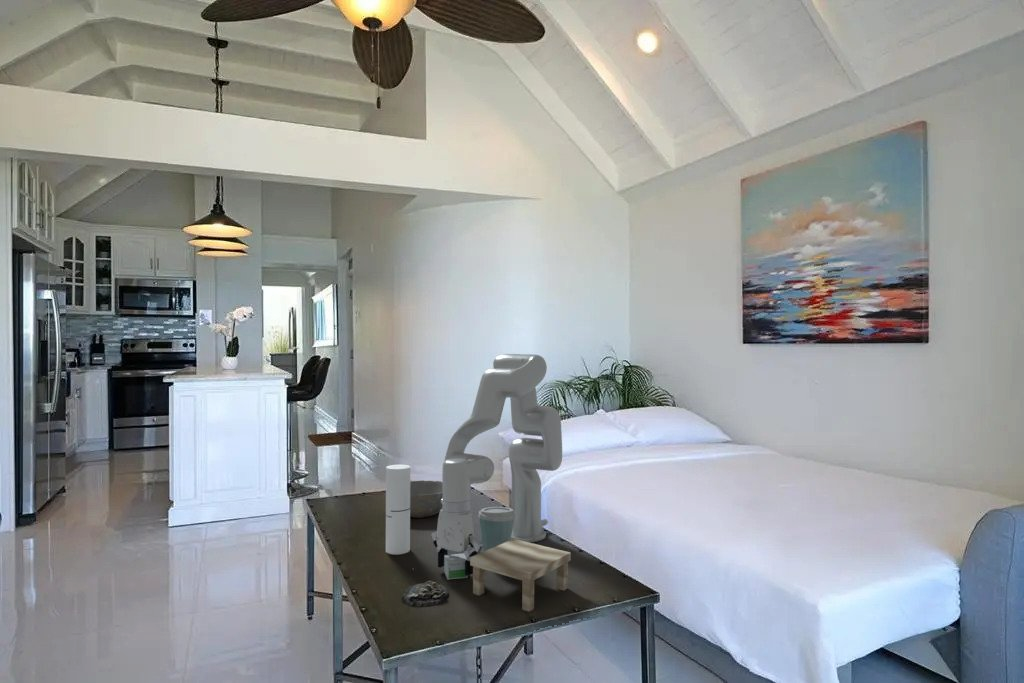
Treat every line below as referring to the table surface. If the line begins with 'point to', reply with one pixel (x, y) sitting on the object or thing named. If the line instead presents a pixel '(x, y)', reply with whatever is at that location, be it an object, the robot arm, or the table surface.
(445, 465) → the robot arm
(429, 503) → the ceramic bowl
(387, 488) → the cylindrical container
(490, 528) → the disposable coffee cup
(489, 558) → the footstool
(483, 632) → the table surface
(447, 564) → the small box
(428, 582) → the dark grey rock
